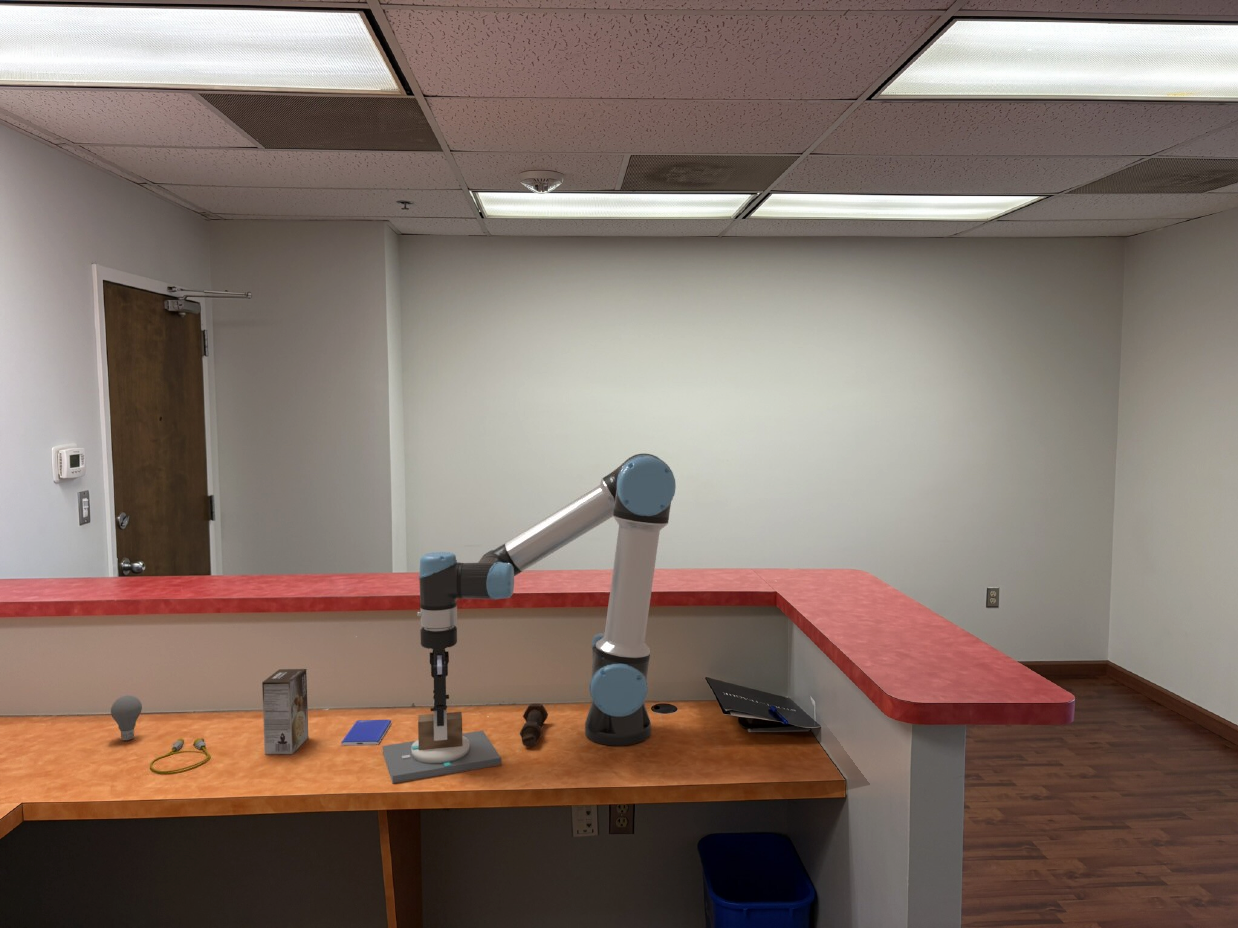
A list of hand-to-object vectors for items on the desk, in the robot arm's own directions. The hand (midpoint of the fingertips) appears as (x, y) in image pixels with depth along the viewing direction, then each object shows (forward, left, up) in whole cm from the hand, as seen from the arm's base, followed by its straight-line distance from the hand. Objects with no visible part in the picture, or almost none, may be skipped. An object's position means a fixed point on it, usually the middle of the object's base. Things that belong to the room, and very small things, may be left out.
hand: (440, 734), depth 173 cm
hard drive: (+13, -20, -6) cm, 25 cm away
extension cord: (+50, -22, -6) cm, 55 cm away
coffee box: (+30, -20, -5) cm, 36 cm away
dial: (0, 0, -4) cm, 4 cm away
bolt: (-21, -4, -6) cm, 23 cm away
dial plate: (0, 0, -5) cm, 5 cm away
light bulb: (+63, -38, -5) cm, 74 cm away
